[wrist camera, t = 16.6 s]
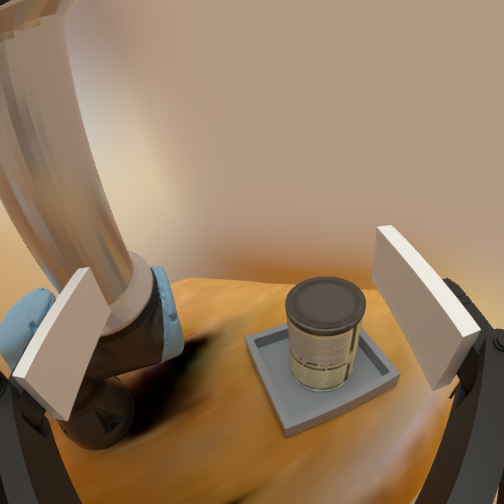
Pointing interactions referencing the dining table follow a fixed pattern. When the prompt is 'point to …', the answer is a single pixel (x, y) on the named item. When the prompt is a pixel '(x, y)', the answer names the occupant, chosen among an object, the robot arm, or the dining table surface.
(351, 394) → the tray
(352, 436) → the dining table surface
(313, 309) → the coffee can
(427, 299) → the robot arm
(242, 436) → the dining table surface
